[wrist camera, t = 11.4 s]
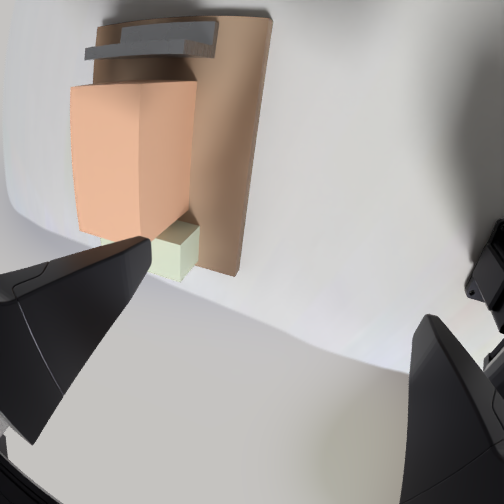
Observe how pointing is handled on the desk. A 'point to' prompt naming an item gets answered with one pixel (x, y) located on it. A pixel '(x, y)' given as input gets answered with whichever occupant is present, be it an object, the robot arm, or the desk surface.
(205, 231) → the shelf board
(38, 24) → the desk surface
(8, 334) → the robot arm
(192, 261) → the pale green rectangular block
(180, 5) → the desk surface
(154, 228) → the peach rectangular block
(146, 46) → the bookend
